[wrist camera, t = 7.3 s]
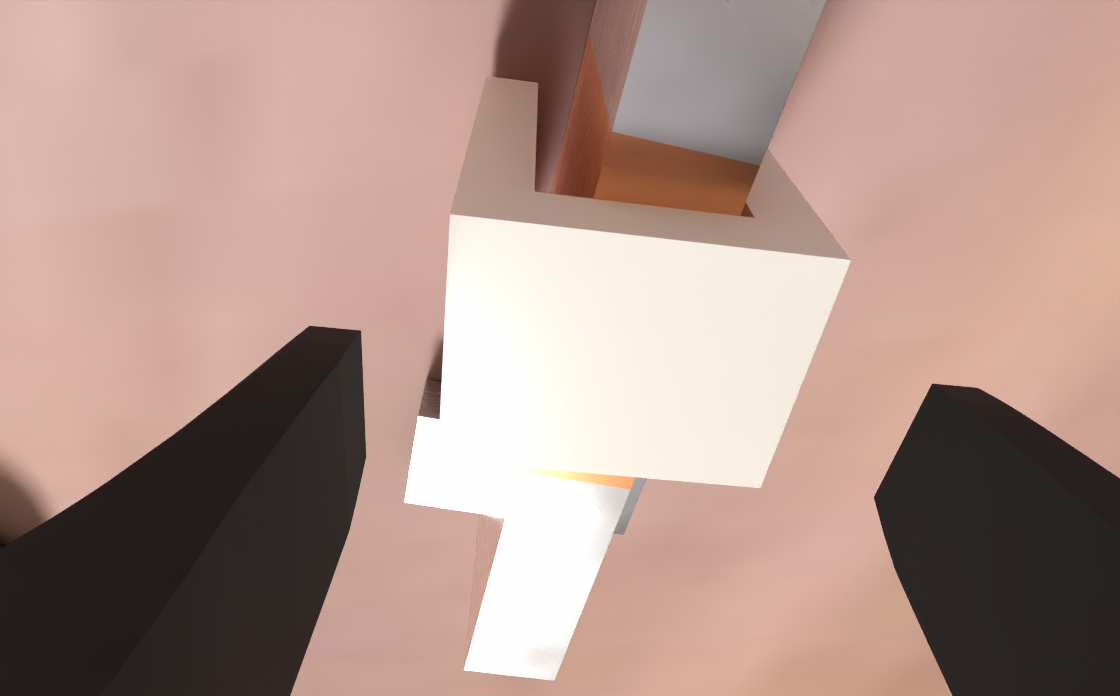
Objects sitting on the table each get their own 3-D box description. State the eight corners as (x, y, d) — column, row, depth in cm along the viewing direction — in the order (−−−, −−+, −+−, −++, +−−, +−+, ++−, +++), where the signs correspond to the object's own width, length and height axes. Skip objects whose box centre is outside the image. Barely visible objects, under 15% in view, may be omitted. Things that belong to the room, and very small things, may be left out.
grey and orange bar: (1001, -487, 10) (1425, -804, 5) (618, 495, 21) (641, 690, 16) (593, -645, 9) (644, -1197, 4) (413, 462, 20) (370, 659, 15)
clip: (737, 109, 14) (851, 260, 9) (691, 283, 17) (760, 487, 11) (487, 76, 14) (450, 214, 9) (473, 260, 16) (438, 460, 11)
